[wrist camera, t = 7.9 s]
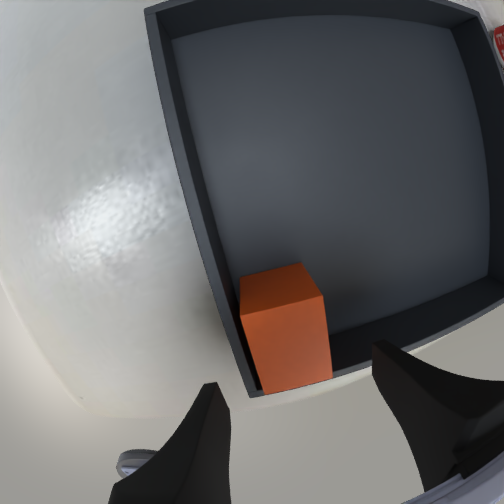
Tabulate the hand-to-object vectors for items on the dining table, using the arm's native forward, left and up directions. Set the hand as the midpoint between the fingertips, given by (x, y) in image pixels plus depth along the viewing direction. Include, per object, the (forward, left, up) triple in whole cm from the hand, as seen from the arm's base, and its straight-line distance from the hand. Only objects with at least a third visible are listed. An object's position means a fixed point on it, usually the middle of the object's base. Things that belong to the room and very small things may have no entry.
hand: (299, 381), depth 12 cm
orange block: (0, 0, -7) cm, 7 cm away
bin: (+8, -9, -8) cm, 14 cm away
